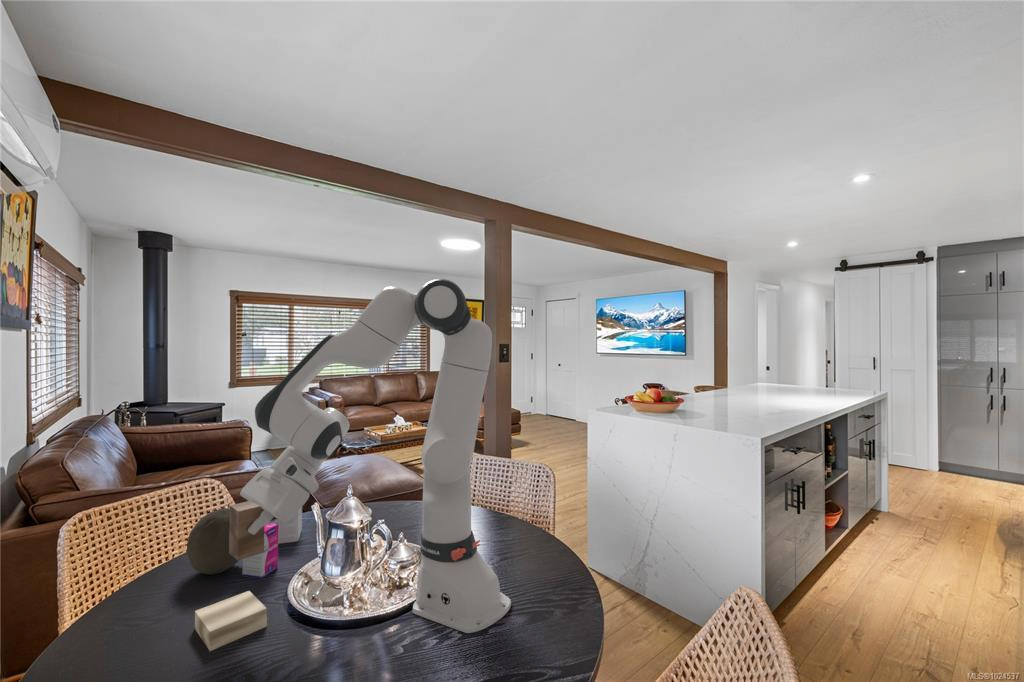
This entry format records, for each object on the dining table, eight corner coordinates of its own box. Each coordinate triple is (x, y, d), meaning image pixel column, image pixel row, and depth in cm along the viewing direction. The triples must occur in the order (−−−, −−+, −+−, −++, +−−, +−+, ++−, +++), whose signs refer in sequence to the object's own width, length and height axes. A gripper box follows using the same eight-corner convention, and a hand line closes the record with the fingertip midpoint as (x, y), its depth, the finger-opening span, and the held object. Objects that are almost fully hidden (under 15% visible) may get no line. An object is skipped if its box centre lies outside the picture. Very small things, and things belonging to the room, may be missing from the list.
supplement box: (262, 579, 111) (262, 532, 111) (241, 576, 112) (241, 530, 112) (279, 567, 116) (279, 523, 116) (259, 565, 118) (259, 521, 118)
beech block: (266, 627, 92) (266, 608, 92) (209, 653, 85) (209, 632, 85) (249, 608, 99) (249, 590, 99) (194, 630, 92) (194, 611, 92)
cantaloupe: (217, 588, 107) (218, 524, 107) (172, 579, 110) (172, 518, 110) (265, 560, 120) (265, 504, 120) (223, 553, 124) (223, 498, 124)
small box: (282, 533, 137) (282, 498, 137) (302, 530, 139) (302, 496, 139) (277, 544, 130) (277, 507, 130) (298, 541, 131) (298, 505, 131)
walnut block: (263, 552, 96) (264, 505, 96) (237, 560, 92) (238, 511, 92) (254, 545, 99) (255, 499, 99) (229, 553, 95) (229, 505, 95)
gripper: (263, 455, 108) (215, 508, 100) (302, 472, 94) (250, 534, 87) (282, 470, 111) (237, 522, 103) (322, 489, 98) (274, 549, 90)
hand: (243, 528), depth 95 cm, fingers closed on walnut block, 5 cm apart
